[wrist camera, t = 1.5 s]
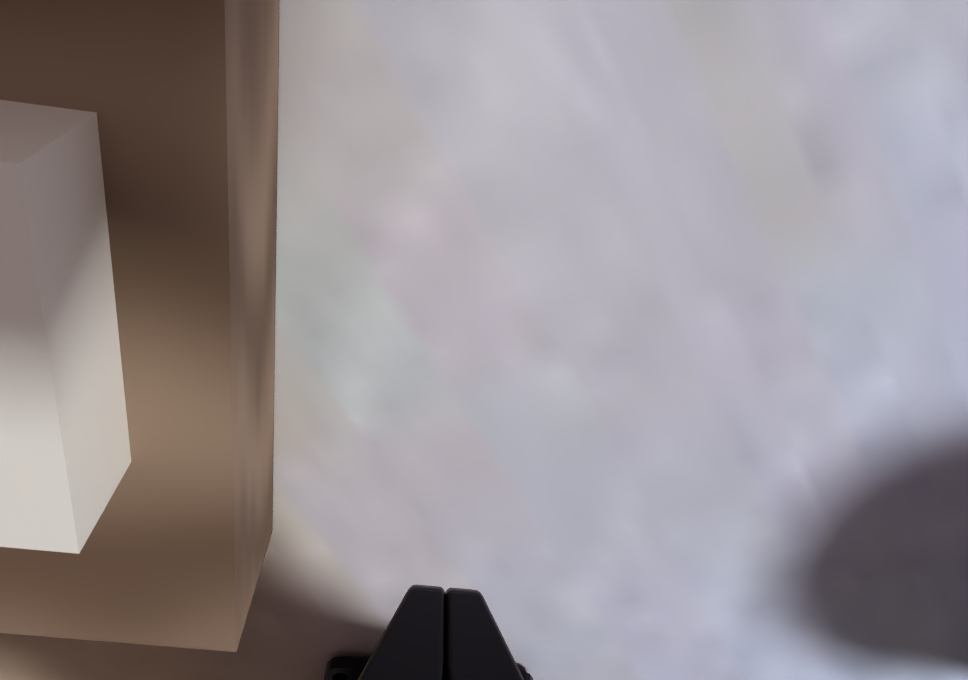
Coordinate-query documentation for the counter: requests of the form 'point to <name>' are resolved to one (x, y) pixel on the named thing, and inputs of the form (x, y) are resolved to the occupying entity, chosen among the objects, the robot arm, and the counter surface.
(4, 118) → the tile
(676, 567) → the counter surface
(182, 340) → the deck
